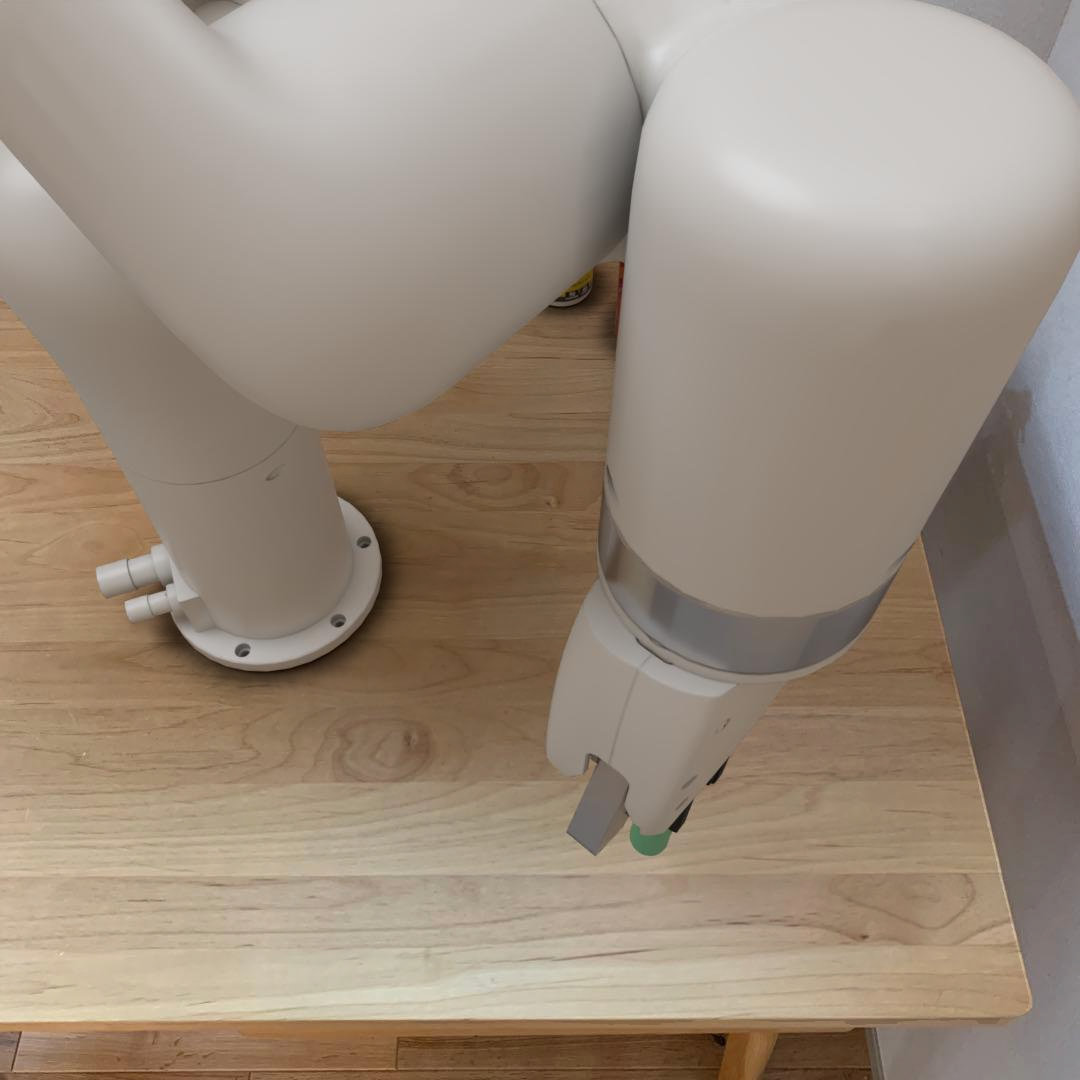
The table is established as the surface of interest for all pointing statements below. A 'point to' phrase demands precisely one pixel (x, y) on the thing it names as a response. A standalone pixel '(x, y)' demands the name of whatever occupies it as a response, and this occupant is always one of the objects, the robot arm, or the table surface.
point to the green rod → (649, 841)
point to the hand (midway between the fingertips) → (666, 779)
